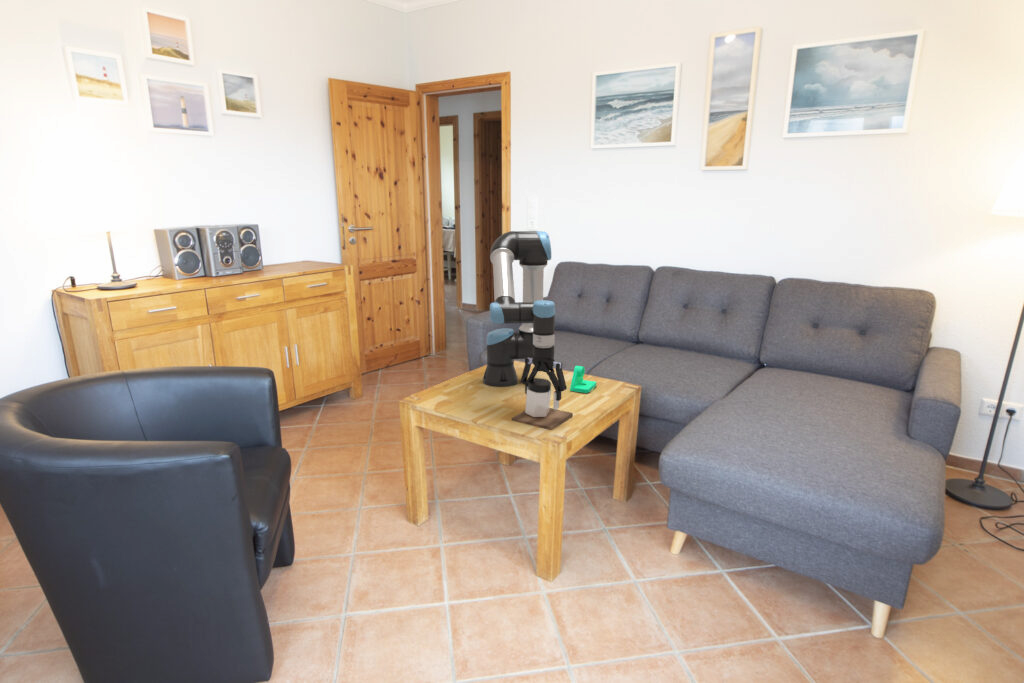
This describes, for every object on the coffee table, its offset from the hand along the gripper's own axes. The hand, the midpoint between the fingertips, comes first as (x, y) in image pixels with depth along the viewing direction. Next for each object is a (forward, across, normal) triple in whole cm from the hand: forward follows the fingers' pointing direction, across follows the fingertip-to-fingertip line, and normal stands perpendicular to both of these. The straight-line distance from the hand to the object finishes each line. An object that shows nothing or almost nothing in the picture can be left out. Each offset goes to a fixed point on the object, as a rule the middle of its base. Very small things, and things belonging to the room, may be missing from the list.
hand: (542, 405), depth 199 cm
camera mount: (+7, -3, +41) cm, 41 cm away
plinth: (+6, 0, 0) cm, 6 cm away
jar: (+3, -2, 0) cm, 4 cm away
